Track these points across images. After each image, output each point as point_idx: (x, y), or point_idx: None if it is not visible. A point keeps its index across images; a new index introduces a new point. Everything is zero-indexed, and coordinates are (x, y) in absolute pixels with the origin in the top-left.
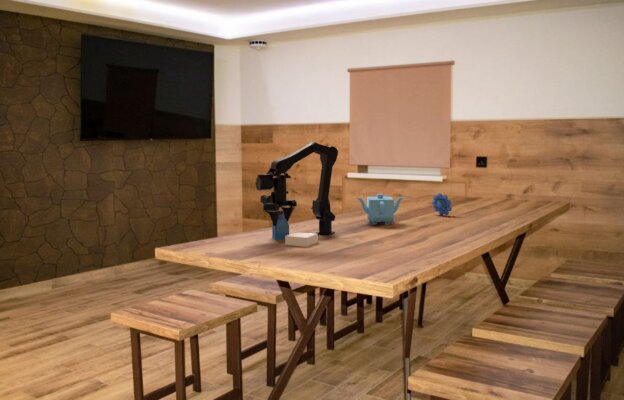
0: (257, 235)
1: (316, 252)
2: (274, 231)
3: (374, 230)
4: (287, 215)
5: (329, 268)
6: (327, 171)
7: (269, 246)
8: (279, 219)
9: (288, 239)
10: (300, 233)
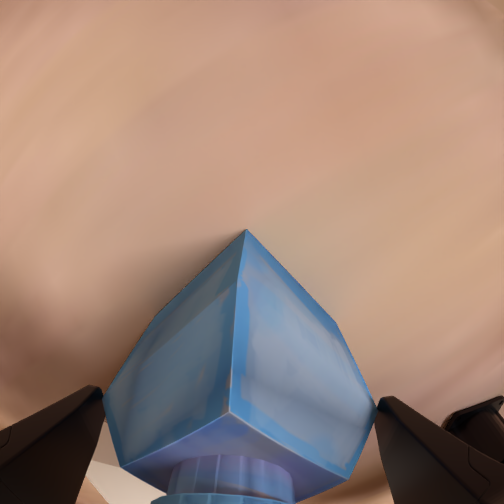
0: (294, 30)
1: (86, 499)
2: (147, 338)
3: None
4: (411, 501)
5: None
6: None
7: (15, 360)
8: (159, 487)
9: None
10: None
